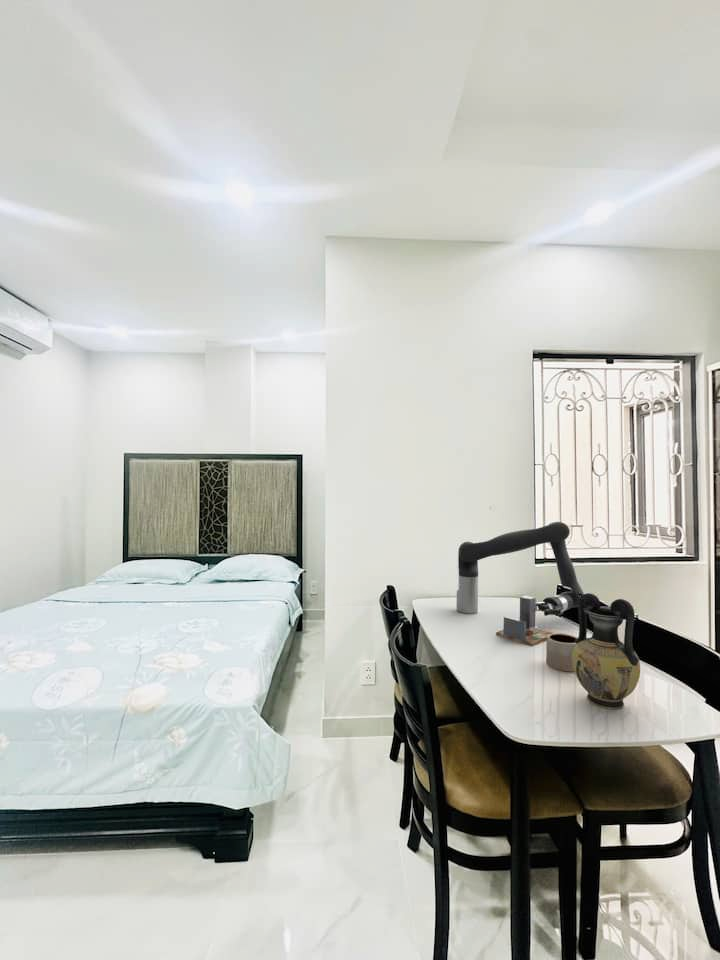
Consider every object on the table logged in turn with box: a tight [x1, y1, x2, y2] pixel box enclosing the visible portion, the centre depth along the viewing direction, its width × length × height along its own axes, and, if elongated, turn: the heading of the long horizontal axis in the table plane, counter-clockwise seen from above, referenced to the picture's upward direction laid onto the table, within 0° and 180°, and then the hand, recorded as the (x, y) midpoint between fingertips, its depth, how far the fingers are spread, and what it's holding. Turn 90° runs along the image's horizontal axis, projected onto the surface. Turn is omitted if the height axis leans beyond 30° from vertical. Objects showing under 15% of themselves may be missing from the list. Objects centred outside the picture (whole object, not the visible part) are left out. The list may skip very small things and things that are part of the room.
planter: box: [545, 632, 578, 673], centre depth 157 cm, size 11×11×10 cm
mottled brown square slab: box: [495, 628, 554, 647], centre depth 188 cm, size 16×18×1 cm
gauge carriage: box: [519, 595, 539, 635], centre depth 187 cm, size 7×11×14 cm, turn 130°
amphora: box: [572, 593, 641, 710], centre depth 131 cm, size 18×17×30 cm
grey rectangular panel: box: [503, 615, 526, 640], centre depth 183 cm, size 9×1×7 cm, turn 40°
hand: (535, 610), depth 193 cm, fingers open, 8 cm apart
